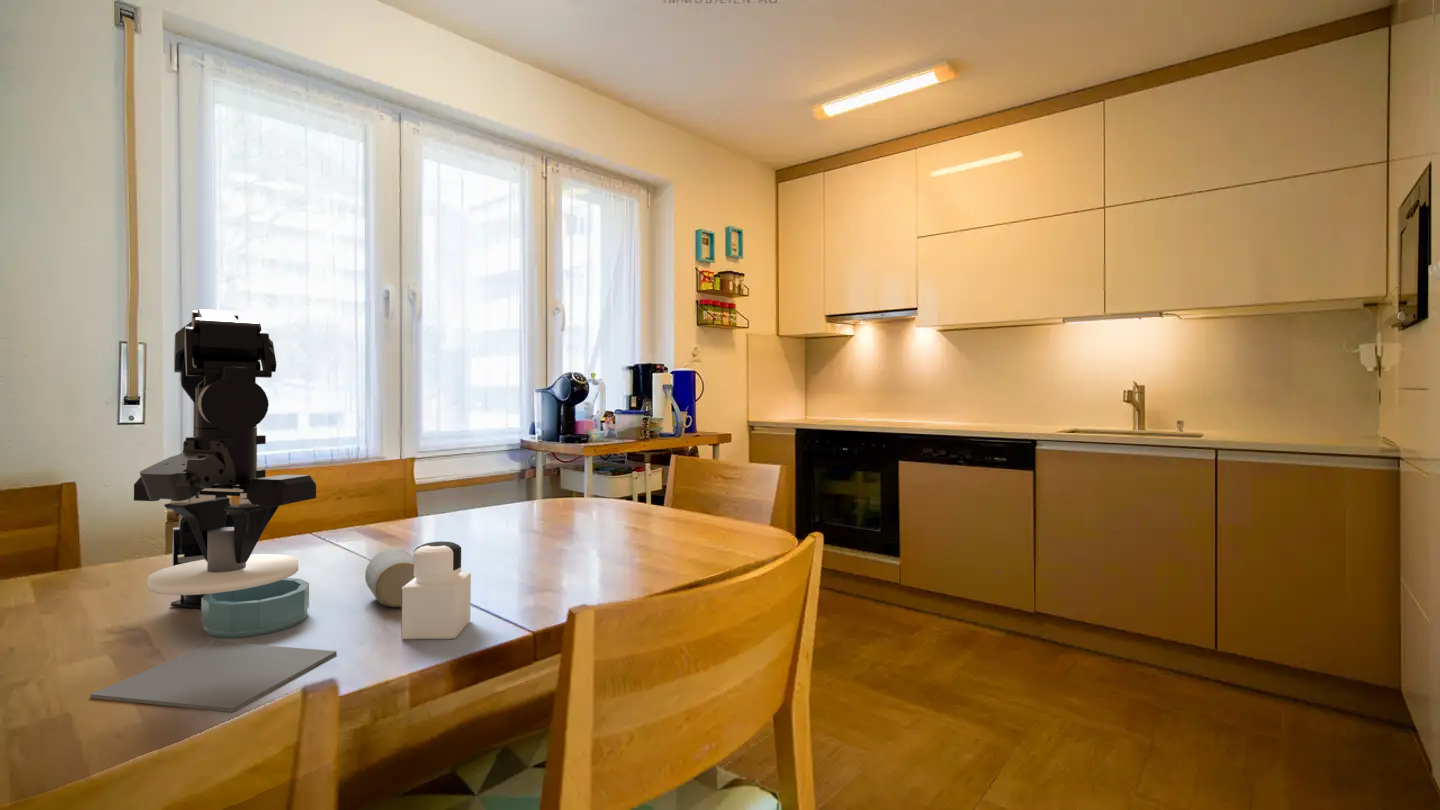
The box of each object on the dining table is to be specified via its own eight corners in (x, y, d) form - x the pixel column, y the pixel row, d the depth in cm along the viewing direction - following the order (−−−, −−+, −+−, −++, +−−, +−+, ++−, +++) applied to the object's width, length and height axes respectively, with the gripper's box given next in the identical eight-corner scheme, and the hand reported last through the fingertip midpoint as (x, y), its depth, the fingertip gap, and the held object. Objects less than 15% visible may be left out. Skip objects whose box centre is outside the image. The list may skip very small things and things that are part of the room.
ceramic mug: (374, 614, 97) (375, 562, 97) (364, 599, 104) (365, 550, 104) (449, 602, 104) (450, 553, 104) (435, 589, 110) (436, 543, 110)
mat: (90, 697, 70) (90, 694, 70) (216, 644, 85) (216, 641, 85) (232, 712, 68) (232, 708, 68) (336, 654, 83) (336, 651, 83)
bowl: (179, 634, 88) (179, 600, 88) (254, 605, 100) (254, 575, 100) (260, 640, 86) (260, 606, 86) (326, 610, 98) (327, 580, 98)
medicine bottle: (419, 621, 95) (420, 538, 94) (471, 620, 95) (472, 538, 95) (400, 640, 88) (401, 550, 87) (455, 639, 88) (456, 550, 88)
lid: (111, 591, 71) (111, 540, 71) (226, 559, 85) (226, 516, 84) (228, 598, 69) (228, 545, 69) (325, 564, 83) (325, 520, 83)
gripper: (81, 429, 70) (81, 576, 70) (239, 432, 67) (239, 585, 67) (180, 425, 81) (180, 552, 81) (319, 428, 78) (319, 559, 78)
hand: (226, 562), depth 77 cm, fingers closed on lid, 4 cm apart
